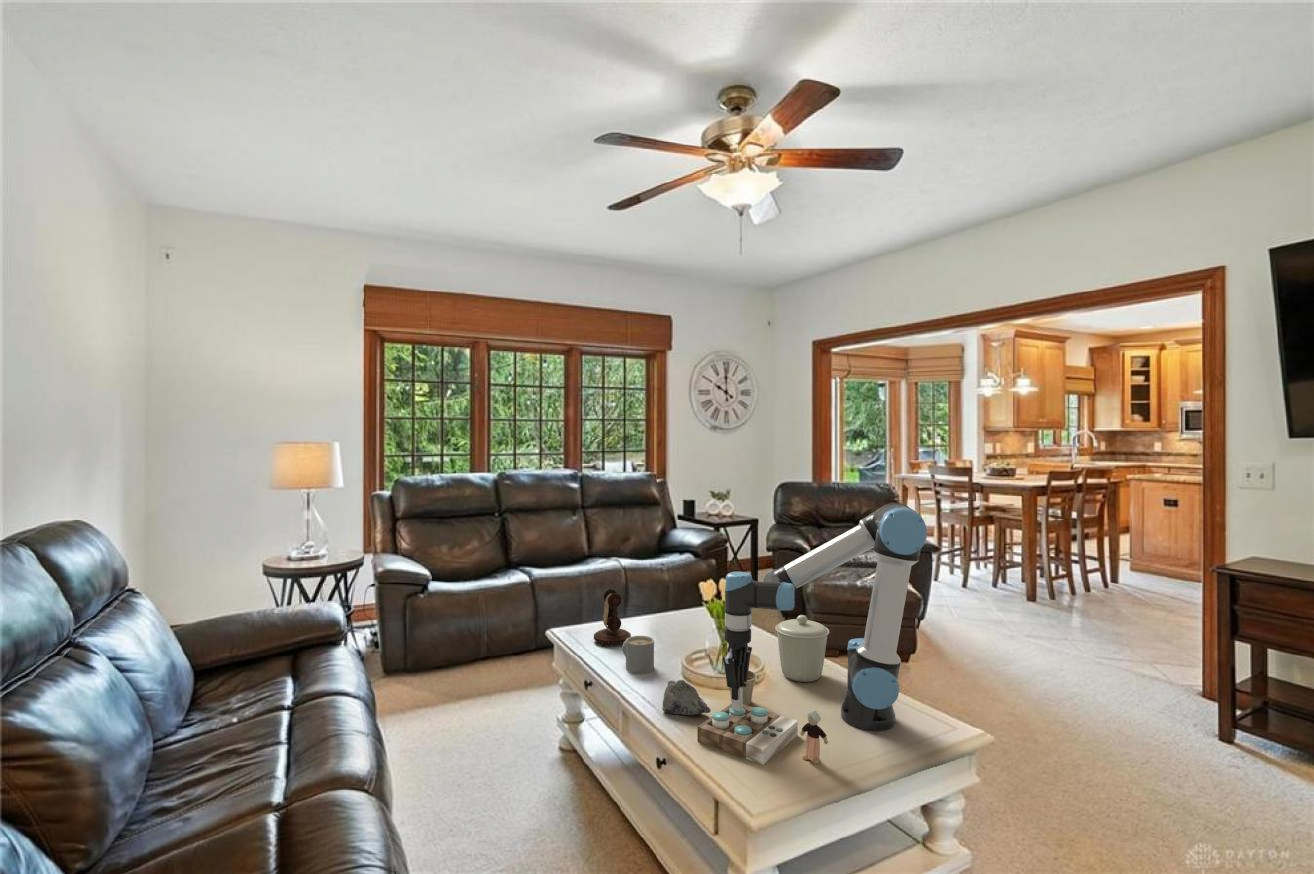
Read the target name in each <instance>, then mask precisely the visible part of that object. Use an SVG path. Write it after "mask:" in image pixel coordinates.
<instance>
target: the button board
mask: <svg viewBox="0 0 1314 874" xmlns="http://www.w3.org/2000/svg"><path fill="white" fill-rule="evenodd" d="M730 708H732V703H730V704H729V705H728V706H726V707H725V708H724V709H721V710H719V712H725V713H728V714H729V709H730ZM743 708H744V709H745V716H744V717H742V718H738V717H735V716H732V715H729V727H728V728H727V729H726V730H722V729H719V728H716V727H713V726H712V716H711V717H710V718H708V719H706V720H705V721H703V722H702V723H701V724H699V725H698V726H697V730H696V731H697V739H696V740H697V742H699V743H702V744H704V745H707V746H710V747H712V748H715V749H718V750H721V751H724V752H726V753H728V754H731V755H735V756H738V757H740V758H743V759H746V760H749V761H751V762H753V763H757V764H760V765H761V766H764V765H765V764H766V763H768V762H770V760H771V759H772V758H773V757H774V756H776V755H777V754H778V753H779V752H780V751H782V749H784V748H785V747H786V746H787V745H788V744H790V742H791V741H793V740H794V739H795V738H796V737H798V736H799V735H798V731H799V730H798V723H799V721H798V720H796V719H793V718H789V717H786V716H783V715H780V714H778V713H777V714H776V713H773V712H769V711H768V723H766V724H765V725H764V726H763V725H760V724H757V723H754V722H751V709H752V708H755V707H754V706H751V705H744V704H743ZM739 725H745V726H749V727H750V728H751V729H752V735H751V736H750V737H748V738H745V737H742V736H739V735H736V734H734V731H735V727H736V726H739Z"/></svg>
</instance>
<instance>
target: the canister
mask: <svg viewBox="0 0 1314 874" xmlns="http://www.w3.org/2000/svg"><path fill="white" fill-rule="evenodd" d="M774 628H775V631H776V632H777V642H778V652H779V661H780V668H781V671H782V674H783V675H784V676H785V677H786V678H787V679H789V680H792V681H796V682H801V683H803V682H804V683H811V682H815V681H817V680H819V679H820V677H821V676H822V674H823V671H824V665H825V664H824V663H825V657H826V648H827V642H828V641H827V639H828V635H829V634H830V630H829V628H828V627H826V626H825V625H823V624H822V623H820V622H817V621H813V620H809V619H808V617H807V616H806V615H804V614H800V615H798V616H797V617H796V618H794V619H787V620H783V621H781V622H779V623H778V624H776V625H775V627H774Z"/></svg>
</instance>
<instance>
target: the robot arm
mask: <svg viewBox="0 0 1314 874" xmlns="http://www.w3.org/2000/svg"><path fill="white" fill-rule="evenodd" d="M927 536H928V529H927V526H926V522H925V520H924V519H923V517H922V516H921V515H920V513H918V512H917V511H916V510H915V509H913V508H911V507H909V506H908V505H906V504H904V503H900V502H891V503H887V504H885V505H882V506H881V507H880V508H877V509H876V510H875V511H874V512H873V511H872V512H871V513H870V514H869V515H867V516H865V517H863V518H862V519H860V520H859V523H858V525H856V526H854V527H852V528H850V529H848V530H846V531H845V532H843V533H842V534H840V535H838V536H836V537H834V538H832V539H831V540H828V541H827V542H825V543H823V544H821V545H820V546H817V547H816V548H813V549H812V550H810V551H808V552H806V553H805V554H803V555H801V556H799V557H797V558H796V559H794V560H792V561H790V562H789V563H787V564H785V565H783V566H781V567H779V568H778V569H772V570H770V571H768V572H767V573H766V575H764V577H763V580H762V581H759V580H753V577H752V574H751V573H749V572H744V571H731V572H729V573H727V574H726V575H725V587H724V612H725V613H724V626H725V627H724V641H725V642H726V643H727V644H728V645H727V654H726V656H725V655H724V656H723V657H722V662H723V664H724V670H725V671H724V673H725V678H726V680H725V681H726V686H727V688H729V689H730V688H732V701H731V704H732V709H733V710H736V711H739V712H740V711H742V708H743V687H746V685H747V684H744V682H747V678H748V670H749V669H750V662H751V661H750V660H751V654H752V651H753V647H752V646H749V644H750V643H751V641H752V609H761V610H762V609H763V610H771V611H772V610H776V611H793V610H794V608H795V591H796V590H797V589H798V588H800V587H802V586H804V585H806V584H808V583H810V582H811V581H813V580H815V579H817V578H819V577H821V576H822V575H824V574H827V573H828V572H830V571H832V570H834V569H836V568H838V567H839V566H842V565H843V564H845V563H847V562H849V561H851V560H853V559H855V558H857V557H858V556H860V555H862V554H864V553H866V552H867V551H870V550H871V549H872V550H873V553H874V555H875V556H876V558H877V563H876V569H875V573H874V580H873V585H872V591H871V596H870V603H869V607H868V608H869V609H868V615H867V620H866V625H865V630H864V631H865V632H864V637H863V638H862V637H860V638H858V637H857V638H851V639H850V640H848V643H847V648H846V650H847V690H846V693H845V696H844V699H843V702H842V704H841V708H840V717H841V719H842V720H843V721H844V722H845V723H847V724H849V725H851V726H853V727H855V728H858V729H863V730H868V731H886V730H890V729H892V728H893V727H895V725H896V712H895V710H894V706H893V704H895V703H896V701H897V700H898V698H899V695H900V684H899V681H898V680H899V673H900V667H901V663H902V659H901V658H900V656H899V655H898V652H897V650H898V649H897V648H898V645H899V637H900V633H901V625H902V620H903V616H904V609H905V604H906V598H907V593H908V588H909V583H910V582H909V581H910V575H911V570H912V566H914V565H915V564H917V563H918V562H919V561H920V555H921V550H922V547H923V546H924V545H925V543H926V540H927ZM749 671H750V670H749Z"/></svg>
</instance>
